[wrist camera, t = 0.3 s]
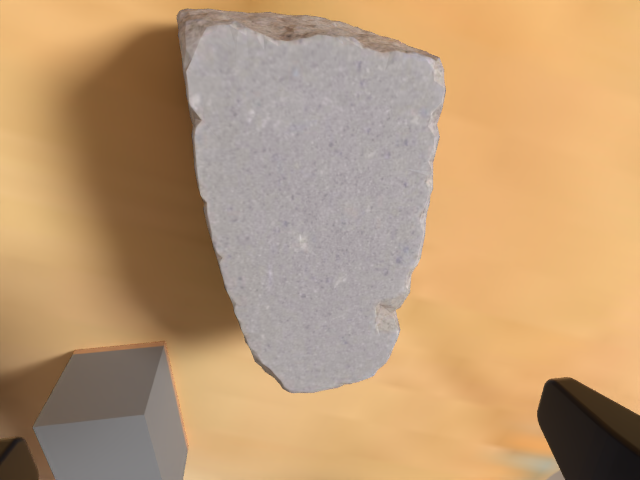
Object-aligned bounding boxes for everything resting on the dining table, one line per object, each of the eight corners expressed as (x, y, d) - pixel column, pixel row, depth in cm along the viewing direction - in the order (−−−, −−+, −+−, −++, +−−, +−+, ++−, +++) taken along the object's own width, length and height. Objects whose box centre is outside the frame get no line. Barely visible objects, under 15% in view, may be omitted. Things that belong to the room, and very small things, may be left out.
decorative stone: (341, -62, 17) (104, 51, 17) (403, -113, 10) (29, 66, 11) (440, 247, 23) (270, 324, 24) (512, 326, 17) (282, 428, 18)
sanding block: (188, 443, 27) (175, 527, 22) (111, 453, 26) (82, 540, 22) (165, 339, 23) (144, 414, 19) (76, 348, 23) (32, 427, 18)
